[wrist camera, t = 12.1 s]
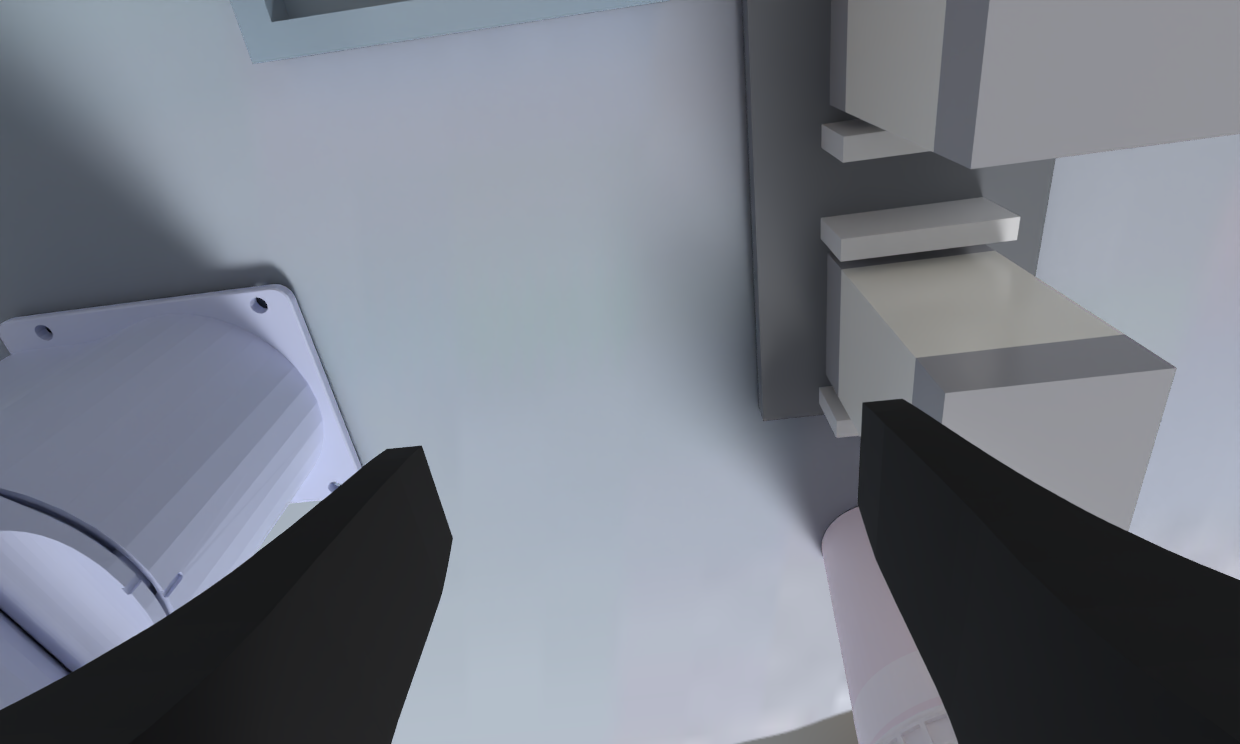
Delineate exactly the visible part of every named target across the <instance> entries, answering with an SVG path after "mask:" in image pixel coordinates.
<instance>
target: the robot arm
mask: <svg viewBox="0 0 1240 744" xmlns="http://www.w3.org/2000/svg"><path fill="white" fill-rule="evenodd" d="M256 297H257V298H261V299H263V300H264V301H265V302H266V303H267V306H268V308H263V307H261V306H260V305H259V304H258V303H257V300H256ZM45 326H46V327H48V328H49V329H50V330H51V331H52V333H50V332H48V331H47V329H46V328H45ZM0 338H1V340H2V341H3V343H4V344H5V346H6V348H7V349H8V351H9V352H10V354H11V355H10V356H8V357H6V358H4V359H2V360H1V361H0V744H391V742H392V739H393V736H394V732H395V729H396V726H397V722H398V719H399V717H400V714H401V711H402V708H403V705H404V702H405V699H406V697H407V694H408V691H409V688H410V685H411V682H412V679H413V676H414V674H415V671H416V668H417V665H418V662H419V659H420V656H421V654H422V651H423V648H424V645H425V642H426V639H427V636H428V633H429V631H430V628H431V625H432V622H433V619H434V616H435V613H436V610H437V607H438V604H439V601H440V598H441V595H442V591H443V586H444V581H445V577H446V572H447V567H448V562H449V556H450V551H451V545H452V540H453V538H452V535H451V532H450V529H449V526H448V523H447V520H446V517H445V514H444V511H443V508H442V505H441V502H440V499H439V496H438V493H437V490H436V487H435V484H434V481H433V478H432V475H431V472H430V469H429V466H428V463H427V460H426V457H425V454H424V451H423V448H422V446H414V447H403V448H393V449H386V450H385V451H383V452H382V453H381V454H379V455H378V456H376V457H375V458H374V459H372V460H371V461H370V462H368V463H367V464H366V465H365V466H363V467H362V466H361V464H360V461H359V459H358V456H357V454H356V451H355V449H354V446H353V443H352V441H351V438H350V436H349V433H348V431H347V428H346V426H345V423H344V420H343V418H342V415H341V413H340V410H339V408H338V405H337V403H336V400H335V397H334V395H333V392H332V390H331V387H330V385H329V382H328V380H327V377H326V374H325V372H324V369H323V367H322V364H321V362H320V359H319V357H318V354H317V351H316V349H315V346H314V344H313V341H312V339H311V336H310V333H309V331H308V328H307V326H306V323H305V321H304V318H303V316H302V313H301V310H300V308H299V305H298V303H297V300H296V298H295V296H294V294H293V293H292V291H291V290H289V289H288V288H287V287H285V286H283V285H280V284H270V285H262V286H254V287H246V288H239V289H231V290H223V291H215V292H208V293H200V294H192V295H184V296H176V297H169V298H161V299H153V300H145V301H138V302H130V303H122V304H114V305H106V306H99V307H91V308H83V309H75V310H68V311H60V312H52V313H44V314H36V315H29V316H21V317H14V318H11V319H8V320H6V321H4V322H2V323H1V324H0ZM333 482H338V483H339V484H341V485H340V486H337V485H335V484H334V483H333ZM318 500H322V501H321V502H320V503H319V504H317V505H316V506H315V507H314V508H313V509H311V510H310V511H309V512H308V513H306V514H305V515H304V516H303V517H302V518H300V519H299V520H298V521H297V522H296V523H294V524H293V525H292V526H291V527H289V528H288V529H287V530H286V531H284V532H283V533H282V534H280V535H279V536H278V537H276V538H275V539H274V540H273V541H271V542H270V543H269V544H267V545H266V546H265V547H263V548H262V549H261V550H260V551H258V552H257V550H258V549H259V547H260V546H261V544H262V543H263V541H264V540H265V538H266V537H267V535H268V534H269V532H270V531H271V530H272V528H273V527H274V525H275V524H276V522H277V521H278V519H279V518H280V516H281V515H282V513H283V512H284V510H285V509H286V508H287V506H288V505H289V504H290V503H299V502H309V501H318ZM858 506H859V510H860V513H861V516H862V519H863V522H864V526H865V529H866V532H867V535H868V538H869V541H870V544H871V547H872V550H873V553H874V556H875V559H876V562H877V564H878V566H879V568H880V570H881V572H882V575H883V577H884V579H885V581H886V583H887V585H888V587H889V590H890V592H891V594H892V596H893V598H894V600H895V602H896V605H897V607H898V609H899V611H900V613H901V615H902V617H903V619H904V621H905V623H906V626H907V628H908V630H909V632H910V634H911V636H912V638H913V640H914V642H915V644H916V647H917V649H918V651H919V653H920V655H921V657H922V659H923V661H924V663H925V665H926V668H927V670H928V672H929V674H930V676H931V678H932V680H933V682H934V684H935V686H936V689H937V691H938V693H939V696H940V698H941V700H942V703H943V705H944V707H945V710H946V712H947V714H948V717H949V719H950V722H951V725H952V727H953V730H954V733H955V736H956V739H957V741H958V744H1240V580H1238V579H1236V578H1233V577H1231V576H1228V575H1226V574H1223V573H1221V572H1218V571H1216V570H1213V569H1211V568H1208V567H1206V566H1203V565H1201V564H1198V563H1196V562H1194V561H1191V560H1189V559H1187V558H1184V557H1182V556H1180V555H1178V554H1175V553H1173V552H1171V551H1168V550H1166V549H1164V548H1162V547H1159V546H1157V545H1155V544H1153V543H1151V542H1149V541H1147V540H1145V539H1143V538H1141V537H1138V536H1136V535H1134V534H1132V533H1130V532H1128V531H1126V530H1124V529H1122V528H1120V527H1117V526H1115V525H1113V524H1111V523H1109V522H1107V521H1105V520H1103V519H1101V518H1099V517H1097V516H1095V515H1093V514H1091V513H1089V512H1087V511H1085V510H1084V509H1082V508H1080V507H1078V506H1076V505H1074V504H1073V503H1071V502H1069V501H1067V500H1065V499H1064V498H1062V497H1060V496H1058V495H1056V494H1055V493H1053V492H1051V491H1049V490H1047V489H1046V488H1044V487H1042V486H1040V485H1038V484H1037V483H1035V482H1033V481H1032V480H1030V479H1028V478H1027V477H1025V476H1023V475H1021V474H1020V473H1018V472H1016V471H1015V470H1013V469H1011V468H1010V467H1008V466H1007V465H1005V464H1003V463H1002V462H1000V461H998V460H997V459H995V458H994V457H992V456H991V455H989V454H987V453H986V452H984V451H983V450H981V449H980V448H978V447H976V446H975V445H973V444H972V443H970V442H969V441H967V440H966V439H964V438H963V437H961V436H960V435H958V434H957V433H955V432H954V431H952V430H950V429H949V428H947V427H946V426H944V425H943V424H941V423H940V422H938V421H937V420H935V419H934V418H932V417H931V416H929V415H928V414H926V413H925V412H923V411H922V410H920V409H919V408H917V407H915V406H914V405H912V404H911V403H909V402H907V401H906V400H904V399H893V400H883V401H873V402H862V423H861V444H860V466H859V487H858ZM256 552H257V553H256ZM255 553H256V554H255Z"/></svg>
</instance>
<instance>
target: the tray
mask: <svg viewBox="0 0 1240 744" xmlns="http://www.w3.org/2000/svg"><path fill="white" fill-rule="evenodd" d="M664 1H669V0H230V2H231V5H232V8H233V11H234V13H235V16H236V19H237V22H238V25H239V27H240V30H241V33H242V36H243V39H244V41H245V44H246V47H247V50H248V52H249V55H250V58H251V61H252V64H256V63H263V62H270V61H277V60H284V59H290V58H297V57H303V56H310V55H316V54H323V53H330V52H336V51H343V50H349V49H356V48H362V47H369V46H375V45H382V44H388V43H395V42H402V41H408V40H415V39H421V38H428V37H434V36H441V35H447V34H454V33H461V32H467V31H474V30H480V29H487V28H493V27H500V26H506V25H513V24H520V23H526V22H533V21H539V20H546V19H552V18H559V17H565V16H572V15H578V14H585V13H592V12H598V11H605V10H611V9H618V8H624V7H631V6H637V5H644V4H651V3H657V2H664Z"/></svg>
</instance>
